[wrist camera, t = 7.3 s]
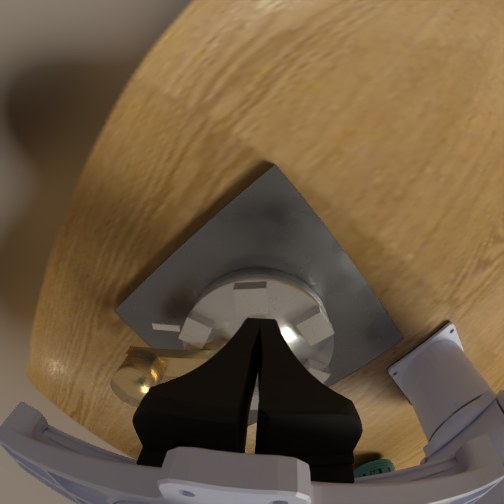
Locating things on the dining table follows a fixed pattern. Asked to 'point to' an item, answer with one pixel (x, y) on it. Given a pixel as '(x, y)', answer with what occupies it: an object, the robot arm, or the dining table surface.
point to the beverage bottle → (374, 468)
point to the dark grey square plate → (269, 257)
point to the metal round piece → (235, 330)
